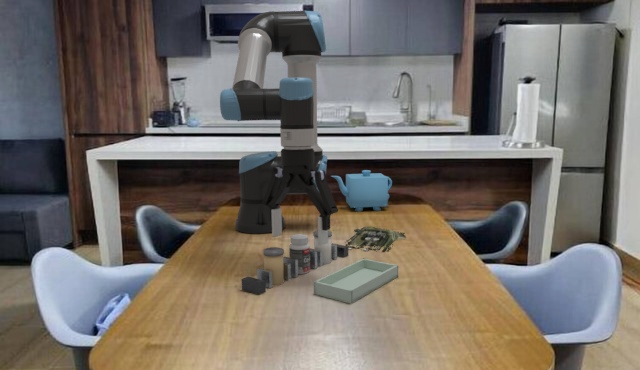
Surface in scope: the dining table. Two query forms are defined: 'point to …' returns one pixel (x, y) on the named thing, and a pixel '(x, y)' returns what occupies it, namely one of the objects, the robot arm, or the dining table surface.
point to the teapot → (365, 190)
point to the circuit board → (374, 238)
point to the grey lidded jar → (324, 247)
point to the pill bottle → (300, 252)
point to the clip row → (289, 269)
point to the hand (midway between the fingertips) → (299, 239)
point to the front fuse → (274, 264)
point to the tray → (355, 280)
